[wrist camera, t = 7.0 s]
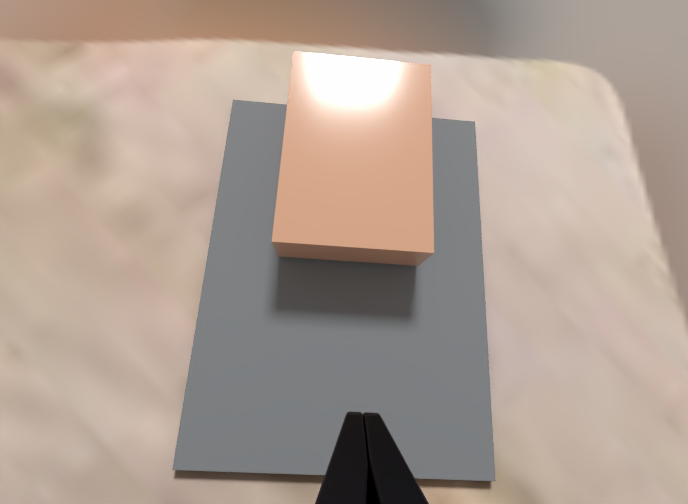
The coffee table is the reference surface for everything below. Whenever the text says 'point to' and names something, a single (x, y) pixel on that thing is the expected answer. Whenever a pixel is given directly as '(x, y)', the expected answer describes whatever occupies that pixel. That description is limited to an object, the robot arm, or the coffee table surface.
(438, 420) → the mat
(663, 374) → the coffee table surface
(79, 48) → the coffee table surface
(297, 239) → the peach rectangular block
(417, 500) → the robot arm
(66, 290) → the coffee table surface
